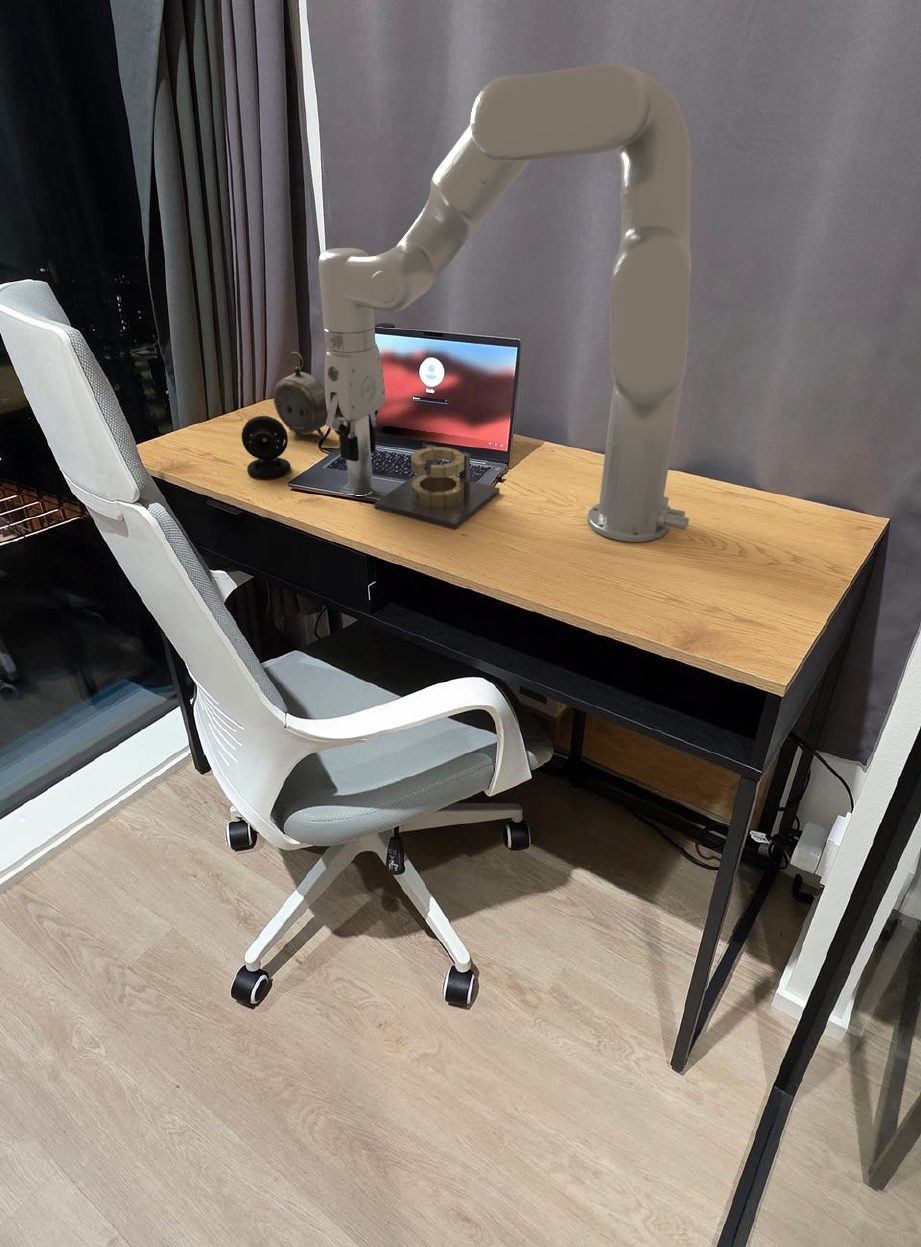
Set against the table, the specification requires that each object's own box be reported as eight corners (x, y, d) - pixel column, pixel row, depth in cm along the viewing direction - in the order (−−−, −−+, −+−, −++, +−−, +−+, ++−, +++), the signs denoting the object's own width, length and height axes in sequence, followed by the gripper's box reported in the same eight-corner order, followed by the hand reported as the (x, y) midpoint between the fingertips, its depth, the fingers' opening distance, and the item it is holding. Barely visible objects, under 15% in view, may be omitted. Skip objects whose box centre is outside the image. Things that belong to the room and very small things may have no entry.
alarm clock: (334, 438, 153) (327, 353, 144) (316, 447, 149) (307, 360, 140) (292, 427, 158) (282, 344, 149) (273, 435, 154) (262, 350, 145)
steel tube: (377, 490, 134) (371, 383, 124) (364, 498, 131) (356, 391, 121) (357, 484, 136) (349, 379, 125) (343, 493, 133) (334, 386, 123)
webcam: (245, 481, 137) (236, 425, 131) (249, 464, 143) (240, 409, 137) (290, 479, 138) (283, 423, 132) (292, 462, 144) (286, 408, 138)
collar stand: (499, 493, 133) (500, 450, 129) (455, 529, 122) (455, 484, 118) (423, 475, 139) (422, 433, 135) (374, 508, 128) (372, 464, 124)
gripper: (337, 356, 112) (347, 477, 122) (401, 330, 124) (405, 442, 134) (295, 349, 115) (308, 468, 125) (361, 324, 127) (368, 434, 137)
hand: (358, 453), depth 129 cm, fingers closed on steel tube, 4 cm apart
